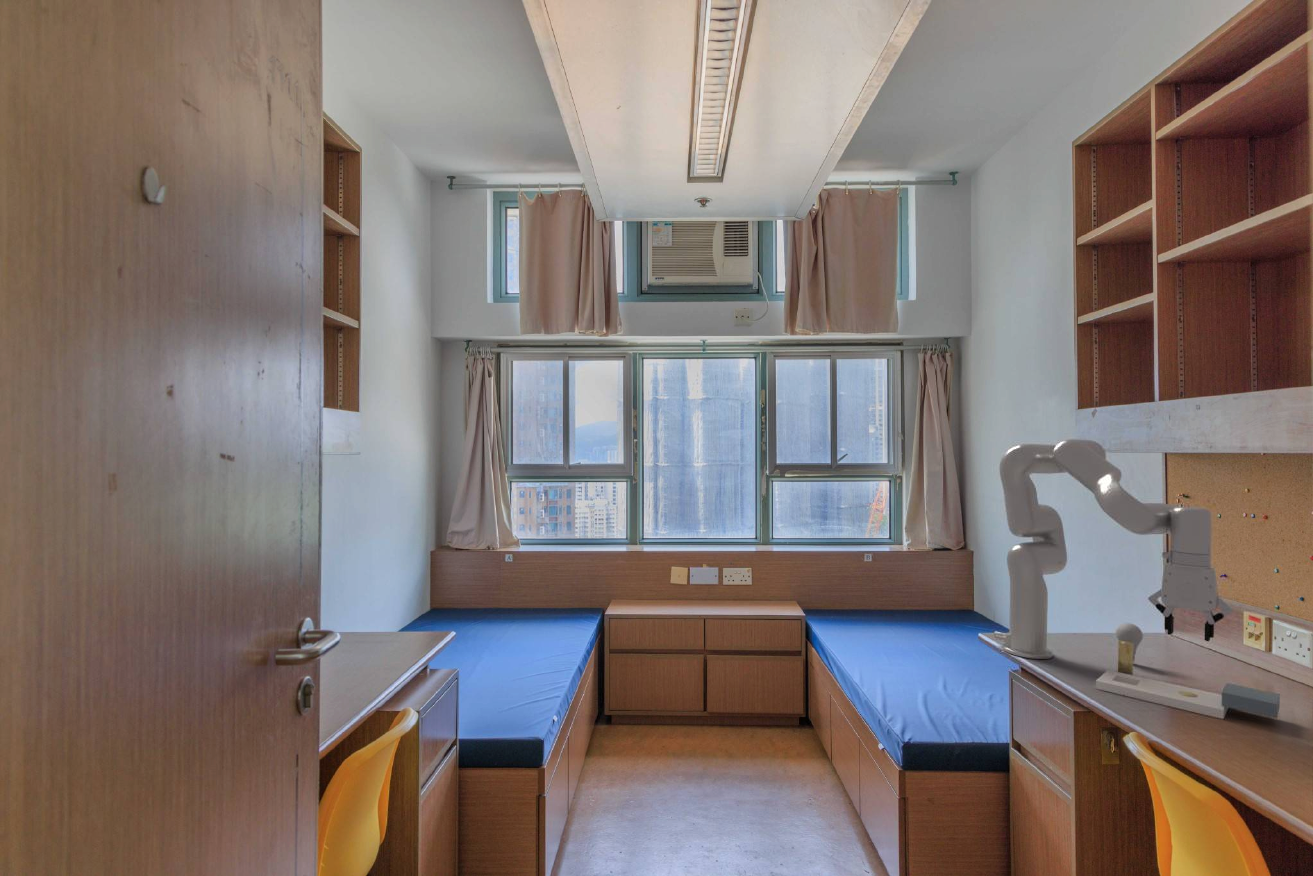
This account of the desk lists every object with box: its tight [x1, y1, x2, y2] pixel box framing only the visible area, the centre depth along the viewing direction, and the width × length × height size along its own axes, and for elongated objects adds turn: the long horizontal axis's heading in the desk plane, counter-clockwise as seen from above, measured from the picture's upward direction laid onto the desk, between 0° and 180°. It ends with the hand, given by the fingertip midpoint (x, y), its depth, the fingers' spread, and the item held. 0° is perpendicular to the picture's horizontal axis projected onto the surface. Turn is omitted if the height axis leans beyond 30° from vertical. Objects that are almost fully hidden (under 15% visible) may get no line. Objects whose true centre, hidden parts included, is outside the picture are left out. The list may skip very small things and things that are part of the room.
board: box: [1095, 669, 1230, 720], centre depth 160 cm, size 24×12×2 cm, turn 44°
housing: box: [1221, 682, 1281, 719], centre depth 148 cm, size 9×9×3 cm
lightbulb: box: [1115, 622, 1144, 663], centre depth 185 cm, size 6×6×11 cm
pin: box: [1117, 640, 1134, 676], centre depth 173 cm, size 3×3×9 cm
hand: (1188, 636), depth 156 cm, fingers open, 6 cm apart
